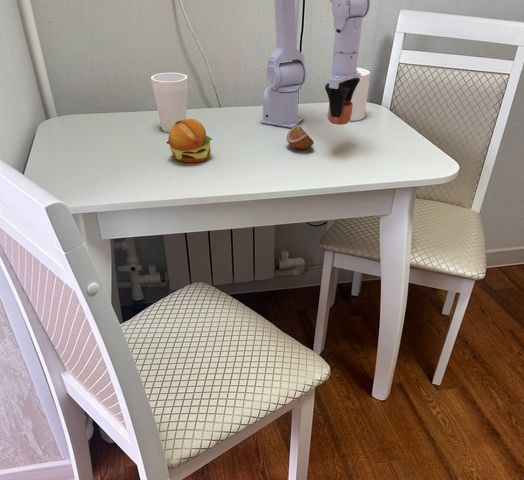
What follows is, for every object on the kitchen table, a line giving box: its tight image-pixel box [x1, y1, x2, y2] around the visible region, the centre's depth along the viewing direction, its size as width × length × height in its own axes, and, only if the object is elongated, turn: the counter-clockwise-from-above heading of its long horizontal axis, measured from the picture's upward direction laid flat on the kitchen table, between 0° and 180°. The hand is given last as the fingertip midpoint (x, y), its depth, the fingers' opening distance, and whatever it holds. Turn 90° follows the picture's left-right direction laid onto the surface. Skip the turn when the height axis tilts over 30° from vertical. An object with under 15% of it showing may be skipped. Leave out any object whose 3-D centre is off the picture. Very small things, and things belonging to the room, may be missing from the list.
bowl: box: [327, 100, 353, 126], centre depth 133 cm, size 6×6×4 cm
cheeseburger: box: [165, 118, 213, 163], centre depth 131 cm, size 10×11×10 cm
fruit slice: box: [286, 123, 315, 150], centre depth 138 cm, size 8×7×5 cm
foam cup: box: [150, 72, 189, 133], centre depth 146 cm, size 10×9×13 cm
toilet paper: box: [350, 67, 371, 122], centre depth 157 cm, size 10×10×12 cm
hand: (339, 113), depth 134 cm, fingers closed on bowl, 5 cm apart
